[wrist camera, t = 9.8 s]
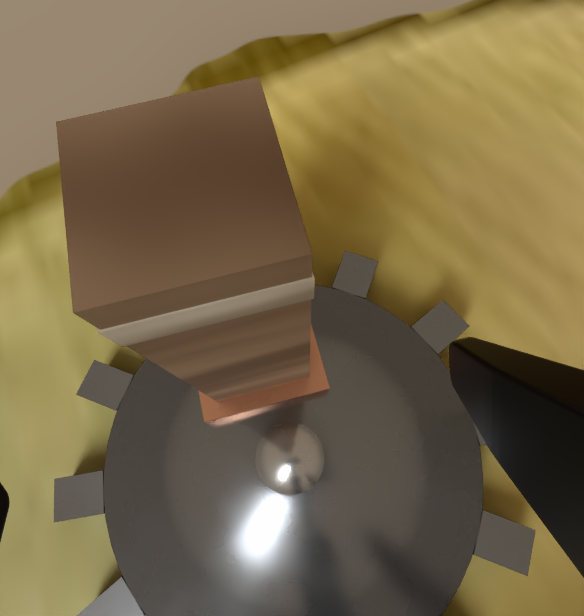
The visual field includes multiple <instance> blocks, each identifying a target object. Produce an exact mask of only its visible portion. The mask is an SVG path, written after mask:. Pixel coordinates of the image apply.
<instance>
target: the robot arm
mask: <svg viewBox="0 0 584 616" xmlns="http://www.w3.org/2000/svg"><path fill="white" fill-rule="evenodd" d="M449 363H450V379H451V383H452V385H453V388H454V389H455V391H456V393H457V395H458V396H459V398H460V400H461V402H462V403H463V405H464V407H465V408H466V410H467V412H468V414H469V415H470V417H471V419H472V420H473V422H474V424H475V426H476V427H477V429H478V431H479V432H480V434H481V436H482V438H483V439H484V441H485V443H486V444H487V446H488V448H489V449H490V451H491V452H492V454H493V455H494V457H495V458H496V460H497V461H498V462H499V464H500V465H501V466H502V468H503V469H504V471H505V472H506V473H507V475H508V476H509V477H510V479H511V480H512V481H513V483H514V484H515V485H516V487H517V488H518V489H519V491H520V492H521V494H522V495H523V496H524V498H525V499H526V500H527V502H528V503H529V504H530V506H531V507H532V508H533V510H534V511H535V512H536V514H537V515H538V517H539V518H540V519H541V521H542V522H543V523H544V525H545V526H546V527H547V529H548V530H549V531H550V533H551V534H552V535H553V537H554V538H555V540H556V541H557V542H558V544H559V545H560V546H561V548H562V549H563V550H564V552H565V553H566V554H567V556H568V557H569V558H570V560H571V561H572V563H573V564H574V565H575V567H576V568H577V569H578V571H579V572H580V573H581V575H582V576H583V577H584V370H581V369H578V368H575V367H571V366H568V365H564V364H561V363H558V362H554V361H551V360H548V359H544V358H541V357H537V356H534V355H531V354H527V353H524V352H521V351H517V350H514V349H510V348H507V347H504V346H500V345H497V344H494V343H490V342H487V341H483V340H480V339H477V338H473V337H467V338H463V339H459V340H456V341H452V342H451V344H450V346H449ZM8 509H9V496H8V493H7V491H6V490H5V489H4V487H3V486H2V484H1V483H0V541H1V537H2V533H3V529H4V525H5V521H6V517H7V513H8Z"/></svg>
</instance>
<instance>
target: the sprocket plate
mask: <svg viewBox="0 0 584 616" xmlns="http://www.w3.org/2000/svg"><path fill="white" fill-rule="evenodd" d="M377 263H378V261H376V260H373V259H370V258H367V257H363V256H360V255H357V254H354V253H351V252H347V251H345V253H344V256H343V258H342V261H341V264H340V267H339V269H338V272H337V275H336V278H335V280H334V283H333V286H332V288H329V287H323V286H316V285H314V299H311V338H310V377H308V378H304V379H301V380H297V381H293V382H289V383H285V384H281V385H278V386H274V387H270V388H266V389H262V390H258V391H255V392H251V393H247V394H243V395H239V396H236V397H232V398H228V399H224V400H220V401H215V400H213V399H212V398H210V397H208V396H207V395H205V394H204V393H202V392H200V391H199V390H197V389H196V388H194V387H192V386H191V385H189V384H187V383H186V382H184V381H183V380H181V379H179V378H178V377H176V376H175V375H173V374H171V373H170V372H168V371H166V370H165V369H163V368H162V367H160V366H158V365H157V364H155V363H153V362H152V361H150V360H149V359H147V358H146V360H145V361H144V362H143V364H142V365H141V367H140V368H139V369H138V371H137V372H136V374H135V376H134V375H132V374H129V373H127V372H124V371H122V370H119V369H116V368H114V367H111V366H109V365H106V364H103V363H101V362H98V361H96V360H94V362H93V363H92V365H91V367H90V369H89V371H88V373H87V375H86V377H85V379H84V381H83V383H82V384H81V386H80V388H79V390H78V392H77V394H76V395H79V396H81V397H84V398H86V399H89V400H91V401H94V402H96V403H99V404H101V405H104V406H106V407H108V408H111V409H113V410H116V411H117V413H116V415H115V419H114V422H113V426H112V429H111V433H110V436H109V440H108V446H107V452H106V458H105V465H104V470H102V471H96V472H91V473H85V474H80V475H74V476H69V477H63V478H57V479H55V480H54V522H59V521H65V520H70V519H76V518H81V517H87V516H92V515H98V514H103V513H105V518H106V523H107V528H108V532H109V537H110V542H111V546H112V549H113V552H114V555H115V557H116V560H117V563H118V566H119V569H120V572H121V574H122V577H121V578H120V579H118V580H117V581H116V582H115V583H114V584H113V585H112V586H110V587H109V588H108V589H107V590H106V591H105V592H103V593H102V594H101V595H100V596H99V597H98V598H96V599H95V600H94V601H93V602H92V603H91V604H89V605H88V606H87V607H86V608H85V609H84V610H83V611H81V612H80V613H79V614H78V615H77V616H145V615H146V616H443V615H442V613H443V612H444V611H445V609H446V607H447V606H448V604H449V602H450V601H451V599H452V597H453V596H454V594H455V593H456V591H457V589H458V588H459V586H460V584H461V581H462V579H463V577H464V575H465V572H466V570H467V568H468V565H469V563H470V561H471V558H472V554H474V555H476V556H479V557H481V558H484V559H486V560H489V561H491V562H494V563H496V564H499V565H501V566H504V567H506V568H509V569H511V570H514V571H516V572H519V573H521V574H523V575H526V576H528V570H529V565H530V559H531V553H532V547H533V541H534V536H535V530H533V529H531V528H528V527H526V526H523V525H520V524H518V523H515V522H513V521H510V520H507V519H505V518H502V517H500V516H497V515H495V514H492V513H489V512H487V511H484V510H482V505H483V472H482V463H481V454H480V448H479V445H485V444H486V443H485V441H484V439H483V438H482V436H481V434H480V432H479V431H478V429H477V427H476V426H475V424H474V422H473V420H472V419H471V417H470V415H469V414H468V412H467V410H466V408H465V407H464V405H463V403H462V402H461V400H460V398H459V396H458V395H457V393H456V391H455V389H454V388H453V385H452V383H451V379H450V372H449V371H448V369H447V368H446V366H445V365H444V363H443V362H442V360H441V359H440V358H439V356H438V354H439V353H440V352H441V351H442V350H443V349H444V348H445V347H447V346H448V345H449V344H450V343H451V342H452V341H453V340H454V339H456V338H457V337H458V336H459V335H460V334H461V333H462V332H463V331H464V330H466V329H467V328H468V327H469V325H468V324H467V323H466V322H465V321H464V320H463V319H462V318H461V317H460V316H459V315H458V314H457V313H456V312H455V311H454V310H453V309H452V308H451V307H450V306H449V305H448V304H447V303H446V302H445V301H444V300H442V301H441V302H440V303H438V304H437V305H436V306H435V307H434V308H433V309H432V310H430V311H429V312H428V313H427V314H426V315H425V316H423V317H422V318H421V319H420V320H419V321H418V322H416V323H415V324H414V325H413V326H412V327H409V326H408V325H407V324H406V323H404V322H403V321H402V320H400V319H399V318H397V317H396V316H395V315H393V314H392V313H390V312H389V311H387V310H385V309H383V308H382V307H380V306H378V305H376V304H374V303H372V302H371V301H369V300H366V296H367V293H368V290H369V287H370V284H371V281H372V278H373V275H374V272H375V269H376V266H377Z"/></svg>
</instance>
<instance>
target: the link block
mask: <svg viewBox="0 0 584 616" xmlns="http://www.w3.org/2000/svg"><path fill="white" fill-rule="evenodd" d="M56 125H57V135H58V147H59V157H60V158H59V159H60V170H61V182H62V193H63V204H64V216H65V227H66V238H67V250H68V261H69V272H70V284H71V295H72V306H73V313H74V314H76V315H78V316H79V317H81V318H82V319H84V320H86V321H87V322H89V323H90V324H92V325H94V326H95V327H97V328H98V333H100V334H102V335H103V336H105V337H107V338H108V339H110V340H112V341H113V342H115V343H117V344H118V345H120V346H122V347H124V346H128V347H129V348H131V349H132V350H134V351H136V352H137V353H139V354H141V355H142V356H144V357H145V358H147V359H149V360H150V361H152V362H153V363H155V364H157V365H158V366H160V367H162V368H163V369H165V370H166V371H168V372H170V373H171V374H173V375H175V376H176V377H178V378H179V379H181V380H183V381H184V382H186V383H187V384H189V385H191V386H192V387H194V388H196V389H197V390H199V391H200V392H202V393H204V394H205V395H207V396H208V397H210V398H212V399H213V400H215V401H220V400H224V399H228V398H232V397H236V396H239V395H243V394H247V393H251V392H255V391H258V390H262V389H266V388H270V387H274V386H278V385H281V384H285V383H289V382H293V381H297V380H301V379H304V378H308V377H310V338H311V299H314V285H315V278H314V274H313V271H312V251H311V248H310V244H309V241H308V238H307V234H306V231H305V228H304V224H303V221H302V218H301V214H300V211H299V208H298V204H297V201H296V198H295V195H294V191H293V188H292V185H291V181H290V178H289V175H288V171H287V168H286V165H285V161H284V158H283V155H282V151H281V148H280V145H279V142H278V138H277V135H276V132H275V128H274V125H273V122H272V118H271V115H270V112H269V108H268V105H267V102H266V98H265V95H264V92H263V89H262V85H261V82H260V79H259V77H254V78H250V79H245V80H241V81H236V82H232V83H227V84H223V85H219V86H214V87H210V88H205V89H201V90H196V91H192V92H187V93H183V94H178V95H174V96H169V97H165V98H161V99H156V100H152V101H148V102H143V103H138V104H134V105H129V106H125V107H120V108H116V109H112V110H107V111H103V112H99V113H94V114H89V115H85V116H80V117H76V118H71V119H67V120H62V121H58V122H56Z"/></svg>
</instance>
